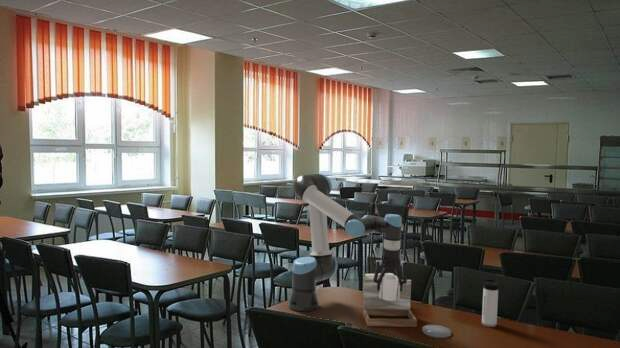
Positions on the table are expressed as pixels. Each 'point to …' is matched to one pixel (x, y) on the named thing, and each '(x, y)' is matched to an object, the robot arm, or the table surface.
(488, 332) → the table surface
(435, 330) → the slate saucer
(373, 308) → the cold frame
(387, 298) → the white cup
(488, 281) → the travel mug
